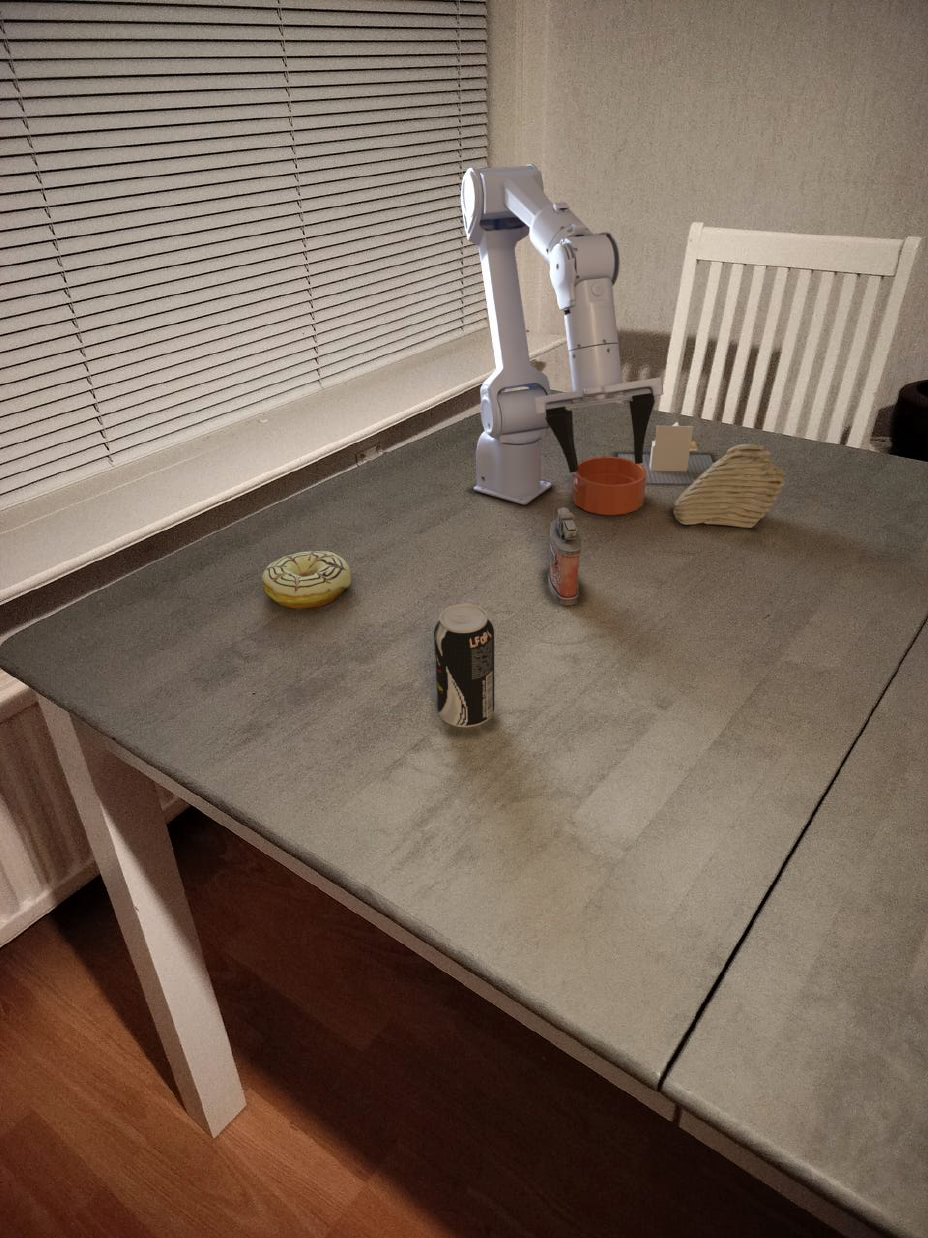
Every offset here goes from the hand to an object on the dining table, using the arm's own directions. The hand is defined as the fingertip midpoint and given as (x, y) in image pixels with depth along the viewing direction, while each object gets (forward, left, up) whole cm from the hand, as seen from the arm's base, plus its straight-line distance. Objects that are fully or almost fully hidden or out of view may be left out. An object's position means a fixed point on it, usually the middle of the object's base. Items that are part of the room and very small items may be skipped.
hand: (606, 467), depth 97 cm
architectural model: (-6, +35, -15) cm, 39 cm away
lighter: (-2, -5, -15) cm, 16 cm away
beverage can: (+2, -32, -15) cm, 35 cm away
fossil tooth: (+8, +23, -15) cm, 29 cm away
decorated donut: (-28, -24, -15) cm, 40 cm away
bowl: (-9, +19, -15) cm, 26 cm away
